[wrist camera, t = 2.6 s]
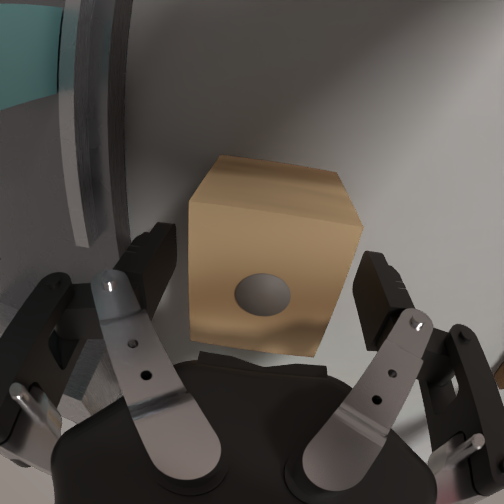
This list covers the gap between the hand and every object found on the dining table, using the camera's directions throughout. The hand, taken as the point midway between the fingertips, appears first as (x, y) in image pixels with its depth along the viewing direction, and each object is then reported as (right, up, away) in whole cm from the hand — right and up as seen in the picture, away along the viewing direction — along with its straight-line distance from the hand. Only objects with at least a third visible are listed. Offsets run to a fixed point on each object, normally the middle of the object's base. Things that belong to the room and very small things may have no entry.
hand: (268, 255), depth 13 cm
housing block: (0, +1, +2) cm, 2 cm away
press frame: (-15, +3, +2) cm, 15 cm away
